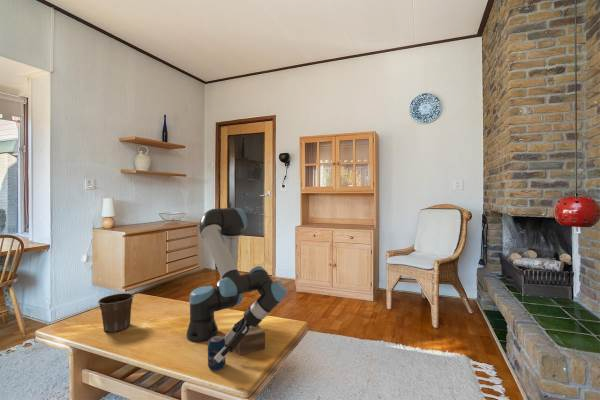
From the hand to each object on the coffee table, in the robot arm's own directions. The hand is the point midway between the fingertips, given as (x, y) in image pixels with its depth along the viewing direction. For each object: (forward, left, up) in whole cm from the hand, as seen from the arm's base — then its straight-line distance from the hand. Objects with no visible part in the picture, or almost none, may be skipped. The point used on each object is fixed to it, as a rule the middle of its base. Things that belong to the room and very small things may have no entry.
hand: (220, 350), depth 123 cm
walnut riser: (-11, +16, -7) cm, 21 cm away
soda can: (-1, -1, -7) cm, 8 cm away
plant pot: (-64, -40, -7) cm, 76 cm away
